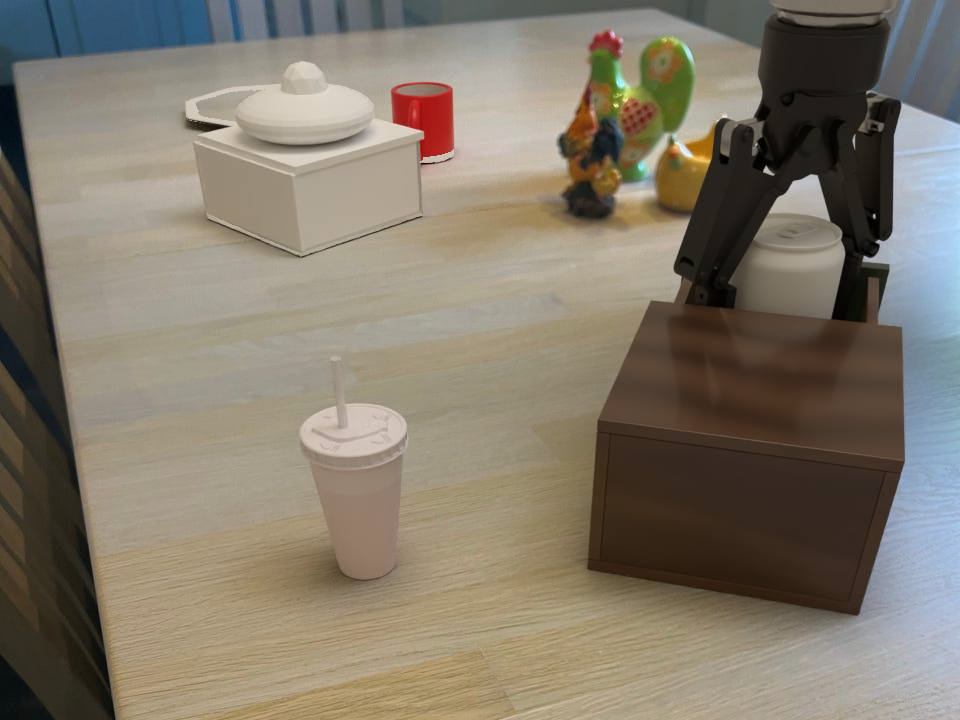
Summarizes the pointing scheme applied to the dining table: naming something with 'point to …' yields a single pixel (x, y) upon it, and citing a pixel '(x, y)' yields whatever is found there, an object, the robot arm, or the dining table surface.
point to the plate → (191, 104)
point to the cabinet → (750, 454)
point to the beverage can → (791, 267)
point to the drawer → (861, 302)
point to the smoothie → (357, 478)
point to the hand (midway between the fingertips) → (767, 353)
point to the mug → (426, 114)
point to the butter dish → (309, 164)
